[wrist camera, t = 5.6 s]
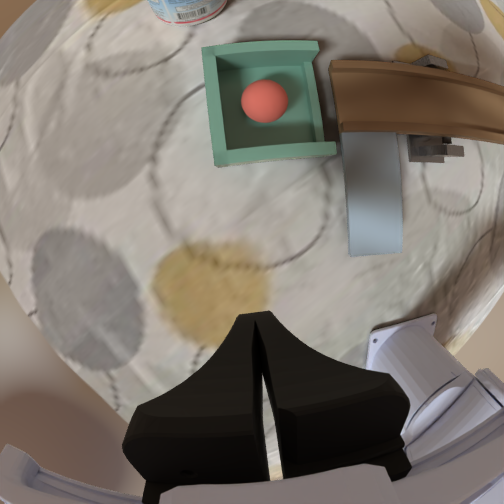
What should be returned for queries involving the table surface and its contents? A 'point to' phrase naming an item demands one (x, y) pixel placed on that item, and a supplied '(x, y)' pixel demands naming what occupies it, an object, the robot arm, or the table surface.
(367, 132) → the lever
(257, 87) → the ball
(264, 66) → the dish
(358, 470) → the robot arm
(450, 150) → the stand
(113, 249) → the table surface
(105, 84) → the table surface
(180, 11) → the pill bottle
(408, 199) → the table surface
